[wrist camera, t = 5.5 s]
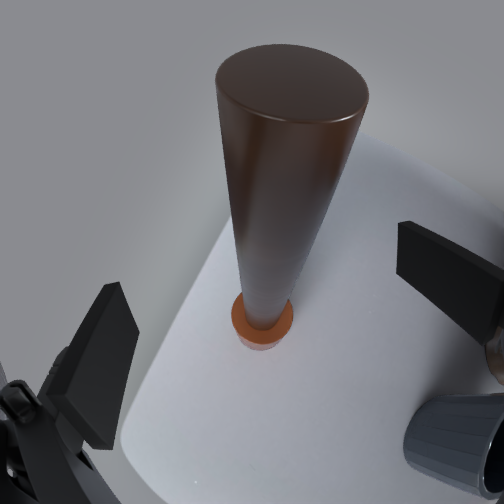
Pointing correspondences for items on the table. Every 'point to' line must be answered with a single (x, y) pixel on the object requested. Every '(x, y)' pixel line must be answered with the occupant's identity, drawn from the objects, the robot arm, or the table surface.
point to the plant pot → (495, 357)
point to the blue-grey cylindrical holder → (460, 442)
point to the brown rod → (282, 169)
